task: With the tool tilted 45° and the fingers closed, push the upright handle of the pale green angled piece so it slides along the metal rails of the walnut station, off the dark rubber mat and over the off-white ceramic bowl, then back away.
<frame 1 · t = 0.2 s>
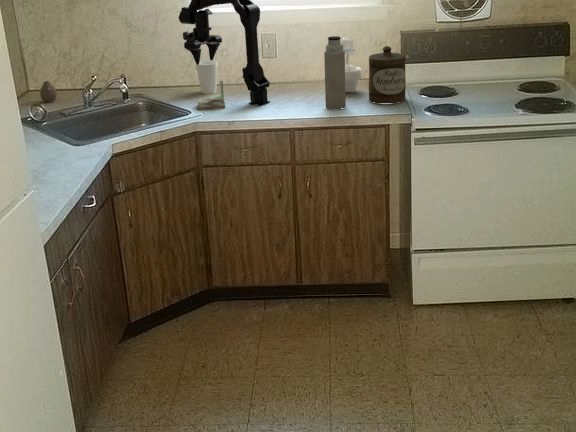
hand: (204, 62, 342), 15 cm above the table, tool pointing down, fingers open, 9 cm apart
foam cup: (209, 92, 356), on the table
station: (211, 106, 332), on the table
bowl: (205, 107, 331), resting on station
pale green angled piece: (216, 89, 329), point 7 cm above the table, slide at 0.0 cm
thermos bottle: (335, 107, 322), on the table
wooden container: (387, 100, 330), on the table
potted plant: (348, 92, 346), on the table
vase: (49, 102, 352), on the table
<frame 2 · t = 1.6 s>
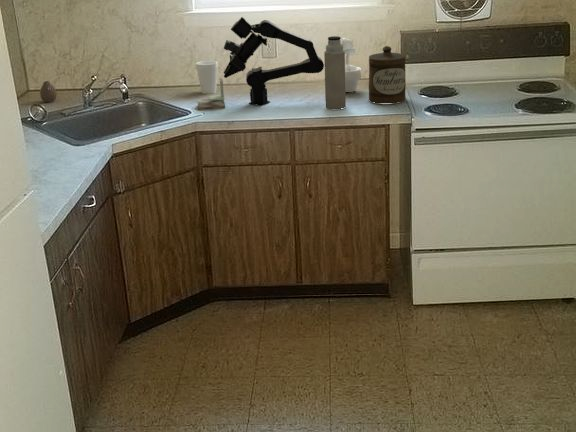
hand: (224, 75, 328), 13 cm above the table, tool tilted 45°, fingers open, 6 cm apart
nothing on the table moved.
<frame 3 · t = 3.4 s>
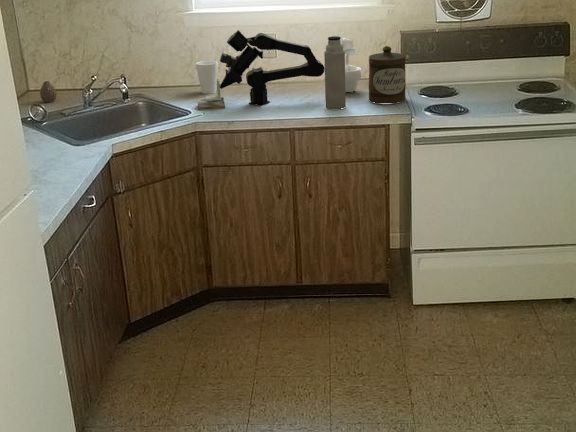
hand: (220, 87, 329), 8 cm above the table, tool tilted 45°, fingers closed, pressing on pale green angled piece
pale green angled piece: (212, 89, 329), point 7 cm above the table, slide at 1.4 cm, touching gripper
everything else where it was.
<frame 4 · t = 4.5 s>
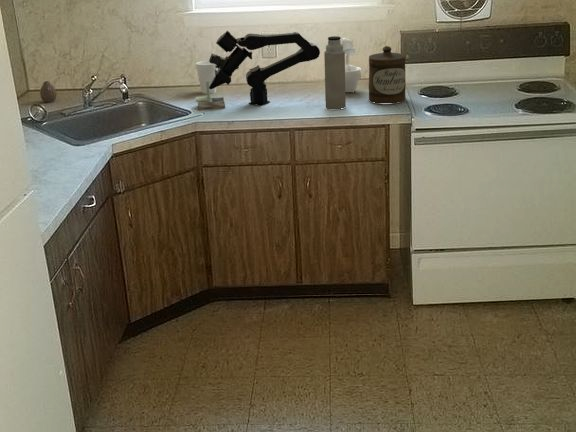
hand: (209, 88, 329), 8 cm above the table, tool tilted 45°, fingers closed, pressing on pale green angled piece
pale green angled piece: (202, 90, 329), point 7 cm above the table, slide at 5.7 cm, touching gripper
everything else where it was.
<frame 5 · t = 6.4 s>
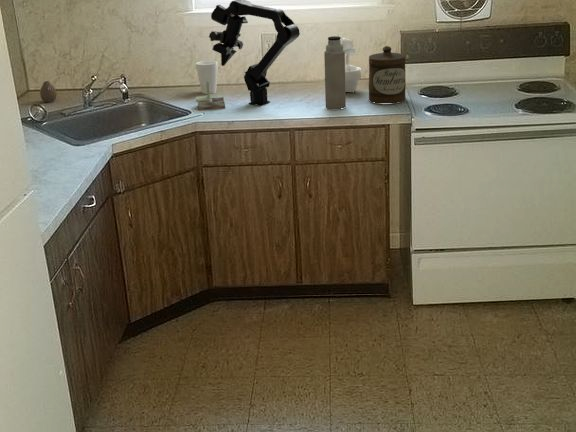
hand: (222, 65, 334), 15 cm above the table, tool tilted 20°, fingers closed
pale green angled piece: (202, 90, 329), point 7 cm above the table, slide at 5.7 cm
everything else where it was.
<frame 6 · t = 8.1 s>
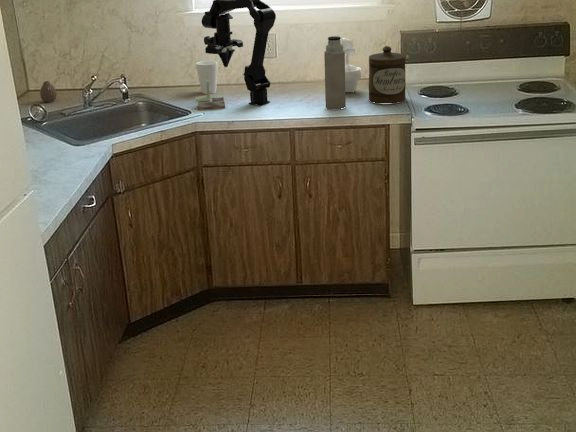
hand: (225, 67, 341), 13 cm above the table, tool pointing down, fingers closed
nothing on the table moved.
at the end: pale green angled piece slide at 5.7 cm; the gripper is holding nothing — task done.
